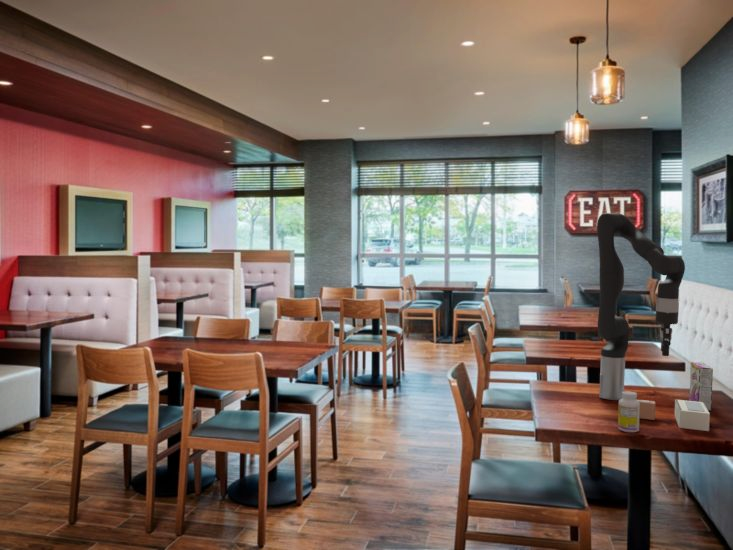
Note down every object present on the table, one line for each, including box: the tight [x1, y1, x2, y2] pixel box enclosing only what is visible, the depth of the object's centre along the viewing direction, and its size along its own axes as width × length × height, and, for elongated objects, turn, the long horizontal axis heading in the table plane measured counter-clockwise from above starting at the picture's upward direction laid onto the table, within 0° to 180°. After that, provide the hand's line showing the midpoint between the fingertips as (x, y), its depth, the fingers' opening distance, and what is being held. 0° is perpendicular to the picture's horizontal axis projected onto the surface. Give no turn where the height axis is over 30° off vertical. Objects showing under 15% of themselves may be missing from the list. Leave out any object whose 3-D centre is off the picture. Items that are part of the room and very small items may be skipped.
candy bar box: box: [688, 361, 714, 411], centre depth 237 cm, size 11×5×16 cm, turn 168°
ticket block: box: [674, 399, 711, 432], centre depth 215 cm, size 9×16×6 cm, turn 159°
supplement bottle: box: [617, 390, 640, 433], centre depth 206 cm, size 7×7×13 cm
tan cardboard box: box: [636, 398, 656, 421], centre depth 221 cm, size 8×4×6 cm, turn 68°
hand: (664, 353), depth 225 cm, fingers open, 8 cm apart
